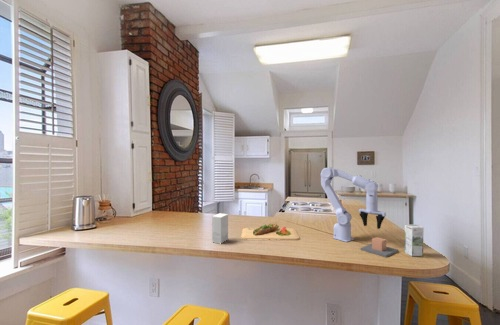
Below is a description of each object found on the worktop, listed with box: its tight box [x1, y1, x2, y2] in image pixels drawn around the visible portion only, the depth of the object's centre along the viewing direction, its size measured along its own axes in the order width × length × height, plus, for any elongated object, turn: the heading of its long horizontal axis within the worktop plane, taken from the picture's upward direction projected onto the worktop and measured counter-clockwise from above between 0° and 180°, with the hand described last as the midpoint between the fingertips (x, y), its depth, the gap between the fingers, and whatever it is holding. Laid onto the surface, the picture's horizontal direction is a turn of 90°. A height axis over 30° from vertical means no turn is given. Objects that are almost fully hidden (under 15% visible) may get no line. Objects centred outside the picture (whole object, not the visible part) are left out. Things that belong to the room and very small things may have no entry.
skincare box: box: [211, 212, 229, 244], centre depth 146 cm, size 8×7×16 cm
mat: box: [360, 243, 399, 258], centre depth 130 cm, size 13×13×1 cm
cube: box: [371, 236, 387, 251], centre depth 130 cm, size 5×5×5 cm
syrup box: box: [404, 224, 425, 257], centre depth 124 cm, size 6×6×14 cm
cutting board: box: [240, 222, 301, 241], centre depth 160 cm, size 35×23×8 cm
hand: (371, 227), depth 141 cm, fingers open, 7 cm apart
